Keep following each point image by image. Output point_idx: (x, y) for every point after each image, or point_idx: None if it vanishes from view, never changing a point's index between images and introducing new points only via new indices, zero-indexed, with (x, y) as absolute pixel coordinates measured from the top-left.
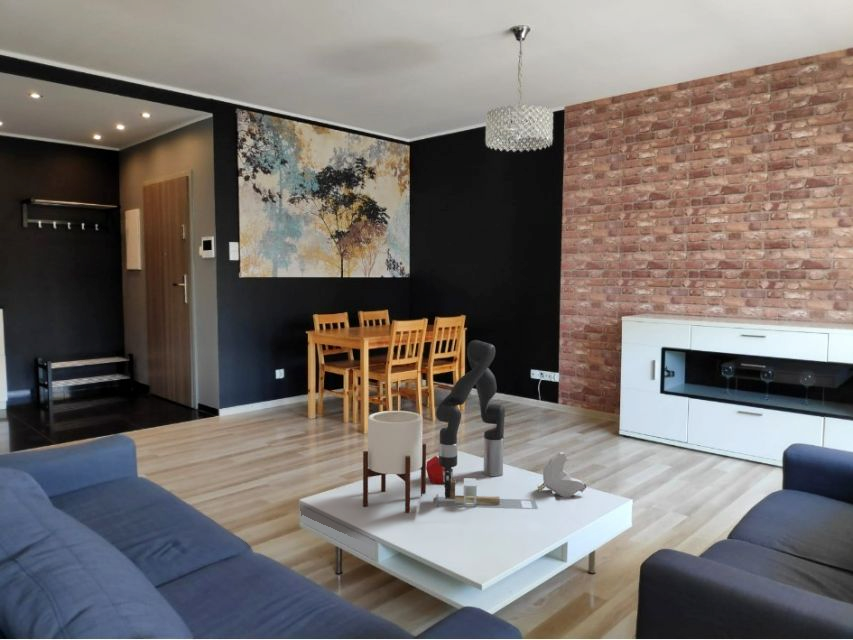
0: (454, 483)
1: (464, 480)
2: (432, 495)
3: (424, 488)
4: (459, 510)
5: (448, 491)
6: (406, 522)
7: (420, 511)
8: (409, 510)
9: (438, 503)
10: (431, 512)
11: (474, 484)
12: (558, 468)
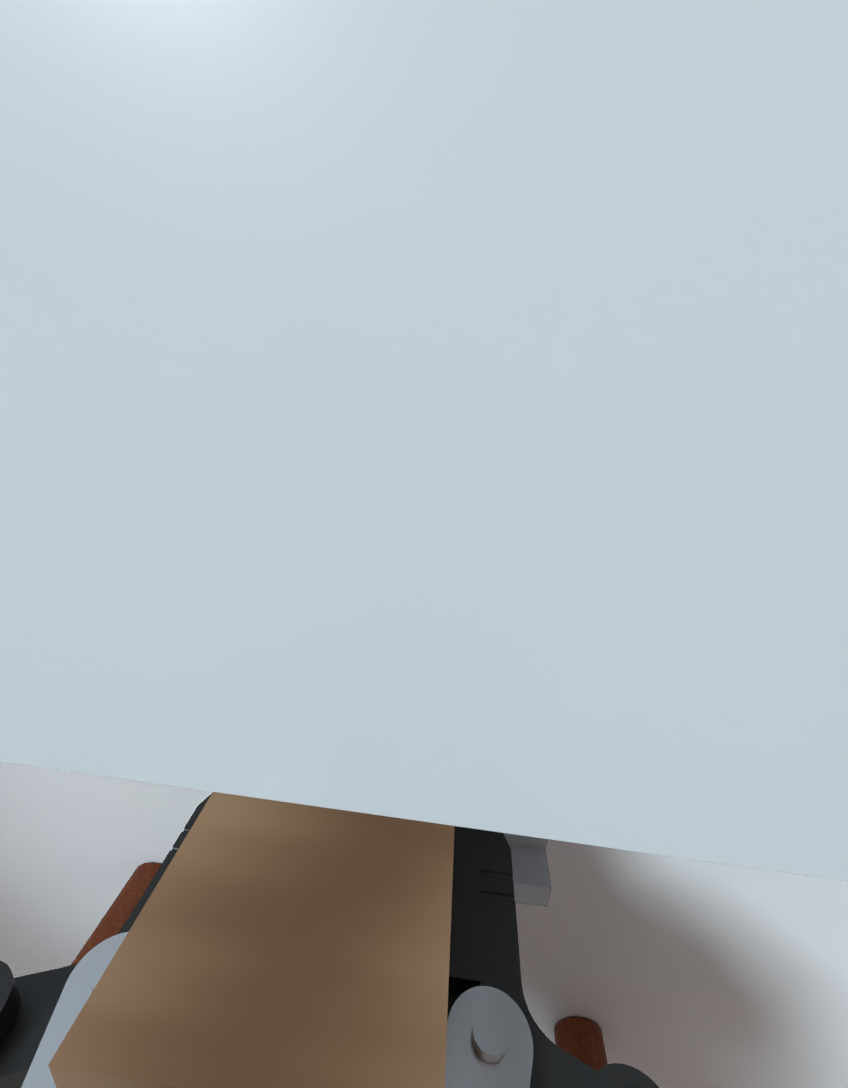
0: (444, 1082)
1: (45, 745)
2: (108, 802)
3: None
4: None
5: (512, 942)
6: (831, 1065)
7: (568, 945)
8: (599, 1051)
9: None
10: (610, 867)
11: (808, 178)
12: None
